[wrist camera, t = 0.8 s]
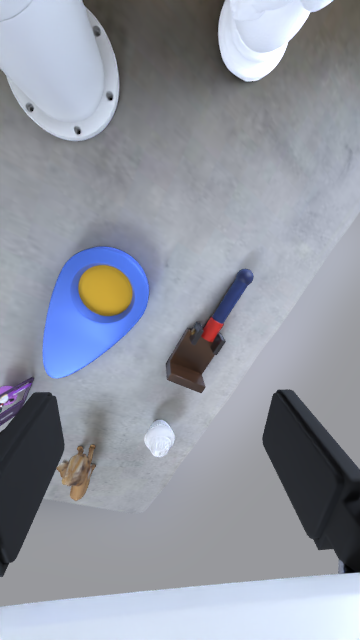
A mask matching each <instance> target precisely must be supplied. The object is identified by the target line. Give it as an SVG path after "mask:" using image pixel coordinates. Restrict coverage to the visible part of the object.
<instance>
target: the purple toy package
mask: <svg viewBox="0 0 360 640" xmlns="http://www.w3.org/2000/svg"><path fill="white" fill-rule="evenodd" d="M33 380H34V378H33V377H31V378H29V379H28V380H26V381H24V382H22V383H20V384H18V385H17V386H15V387H12V386H3V387H0V412H1V411H2V408H1V407H2V406H3V405H9V404H12V403H13V402H14V401H15V400H16V398H17V394H18V393H19V392H21V391H22V390H24V389H26V388H27V389H26V391H25V394H24V396H23V399H22V400H21V401H20V402H18V403H17V404H15V405H13V406H12V407H10V408H9V409H7V410H5V411H4V412H2V413H1V414H0V426H1V425H2V424H4V423H5V422H7V421H8V420H10V419H11V418H13V417H14V416H16V414H17V413H18V412H19V411H20V409H21V408H22V407H23V405H24V402H25V400H26V397H27V395H28V392H29V390H30V387H31V385H32V382H33ZM28 382H29V383H28ZM26 383H28V384H27V385H25V386H23V387H21V386H22V385H24V384H26ZM19 387H21V388H19ZM17 388H19V389H17ZM15 389H17V390H15Z"/></svg>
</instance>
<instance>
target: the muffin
mask: <svg viewBox="0 0 360 640" xmlns="http://www.w3.org/2000/svg"><path fill="white" fill-rule="evenodd" d="M174 442H175V435H174V433H173V430H172V429H171V427H170V426H169V425H168V424H167V422H166V421H164V420H156V421H155V422H153V424H152V425H151V426H150V428H149V429H148V431H147V433H146V435H145V444H146V446H147V447H148V448H149V449H150V450H151V452H152V454H153V455H154V456H156V457H162V456H165V455H166V454H167V452H168V451H169V448H171V447H172V445H173V444H174Z"/></svg>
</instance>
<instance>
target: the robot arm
mask: <svg viewBox="0 0 360 640" xmlns="http://www.w3.org/2000/svg"><path fill="white" fill-rule="evenodd" d="M97 35H99V37H97ZM0 69H1V70H2V71H3V72H4V73H5V74H6V77H7V80H8V82H9V85H10V87H11V90H12V92H13V94H14V96H15V97H16V99H17V101H18V103H19V104H20V106H21V107H22V108H23V110H24V111H25V112H26V113H27V115H28V116H29V117H30V118H31V119H32V120H33V121H34V122H35V123H36V124H38V125H39V126H40V127H41V128H43V129H44V130H45V131H47V132H49V133H50V134H52V135H54V136H56V137H59V138H61V139H64V140H70V141H81V140H86V139H89V138H92V137H94V136H96V135H97V134H99V133H100V132H101V131H102V130H103V129H104V128H105V127H106V126H107V125H108V124H109V122H110V120H111V119H112V117H113V115H114V112H115V110H116V107H117V103H118V98H119V73H118V67H117V62H116V58H115V55H114V52H113V49H112V46H111V43H110V41H109V39H108V37H107V35H106V33H105V31H104V29H103V27H102V26H101V24H100V23H99V21H98V20H97V19H96V17H95V16H94V15H93V14H92V13H91V12H90V11H89V10H88V9H87V8H86V7H85V6H84V4H83V1H82V0H0ZM110 98H113V100H111V101H109V99H110ZM32 109H34V110H33V111H32ZM78 131H81V133H80V134H78ZM263 445H264V447H265V450H266V452H267V454H268V456H269V458H270V460H271V462H272V464H273V466H274V468H275V470H276V472H277V474H278V476H279V478H280V480H281V482H282V484H283V486H284V488H285V491H286V492H287V495H288V497H289V499H290V501H291V503H292V505H293V507H294V509H295V511H296V513H297V515H298V517H299V519H300V521H301V523H302V525H303V527H304V530H305V531H306V533H307V535H308V536H309V537H310V538H311V539H313V540H314V542H315V544H316V546H317V548H318V550H325V549H334V551H335V553H336V555H337V556H338V558H339V571H338V574H331V575H316V576H304V577H293V578H281V579H270V580H260V581H247V582H236V583H227V584H215V585H204V586H194V587H184V588H174V589H163V590H152V591H142V592H131V593H122V594H112V595H102V596H93V597H83V598H73V599H63V600H53V601H42V602H35V603H26V604H19V605H10V606H2V607H0V640H360V469H359V468H358V467H357V466H356V465H355V464H354V462H353V461H352V460H351V459H350V458H349V456H348V455H347V454H346V453H345V452H344V450H343V449H342V448H341V447H340V446H339V445H338V443H337V442H336V441H335V440H334V439H333V437H332V436H331V435H330V434H329V433H328V432H327V430H326V429H325V428H324V427H323V426H322V424H321V423H320V422H319V421H318V420H317V419H316V417H315V416H314V415H313V414H312V413H311V411H310V410H309V409H308V408H307V407H306V406H305V405H304V403H303V402H302V401H301V400H300V399H299V397H298V396H297V395H296V394H295V393H294V391H292V390H277V392H276V393H274V394H273V396H272V401H271V405H270V409H269V413H268V417H267V421H266V425H265V429H264V433H263ZM63 451H64V439H63V433H62V427H61V422H60V416H59V410H58V405H57V399H56V397H55V396H52V394H51V393H50V392H35V393H33V394H32V395H31V397H30V398H29V399H28V401H27V402H26V403H25V404H24V406H23V407H22V408H21V409H20V411H19V412H18V413H17V414H16V416H15V417H14V418H13V419H12V421H11V422H10V423H9V424H8V426H7V427H6V428H5V429H4V430H2V431H1V432H0V577H3V575H4V573H5V571H6V569H7V567H8V564H9V563H11V562H13V561H14V560H15V559H16V557H17V555H18V553H19V551H20V549H21V547H22V545H23V542H24V540H25V538H26V535H27V533H28V531H29V529H30V526H31V524H32V522H33V520H34V517H35V515H36V513H37V511H38V508H39V506H40V503H41V501H42V499H43V497H44V495H45V493H46V490H47V488H48V486H49V484H50V481H51V479H52V477H53V475H54V472H55V470H56V468H57V465H58V463H59V461H60V459H61V456H62V454H63Z"/></svg>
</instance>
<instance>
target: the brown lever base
mask: <svg viewBox="0 0 360 640" xmlns="http://www.w3.org/2000/svg"><path fill="white" fill-rule="evenodd" d="M203 332H204V331H203V328H202V326H201V324H200V323H199V322H196V324H195V325H194V327H193V328H192V330H191V329H189V328H187V329H186V331H185V333H184V334H183V336H182V338H181V339H180V341H179V343H178V344H177V346H176V348H175V349H174V351H173V353H172V354H171V356H170V358H169V360H168V361H167V363H166V372H167V380H169V381H171V382H174V383H176V384H179V385H181V386H184V387H187V388H189V389H192V390H194V391H197V392H199V393H202V392H203V390H204V389H205V384H204V381H203V377H202V373H203V372H204V370H205V369H206V367H207V366H208V364H209V363H210V361H211V360H212V358H213V357H214V355H217V354H218V352H219V351H220V349H221V348H222V346H223V345H224V343H225V342H226V341H225V340H224V338H223V336H222V335H221V333H218V334H217V336H216V337H215V339H214V340H213V342H209V341H207V340H205V339H204V338H203V337H201V335H202V334H203Z"/></svg>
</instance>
